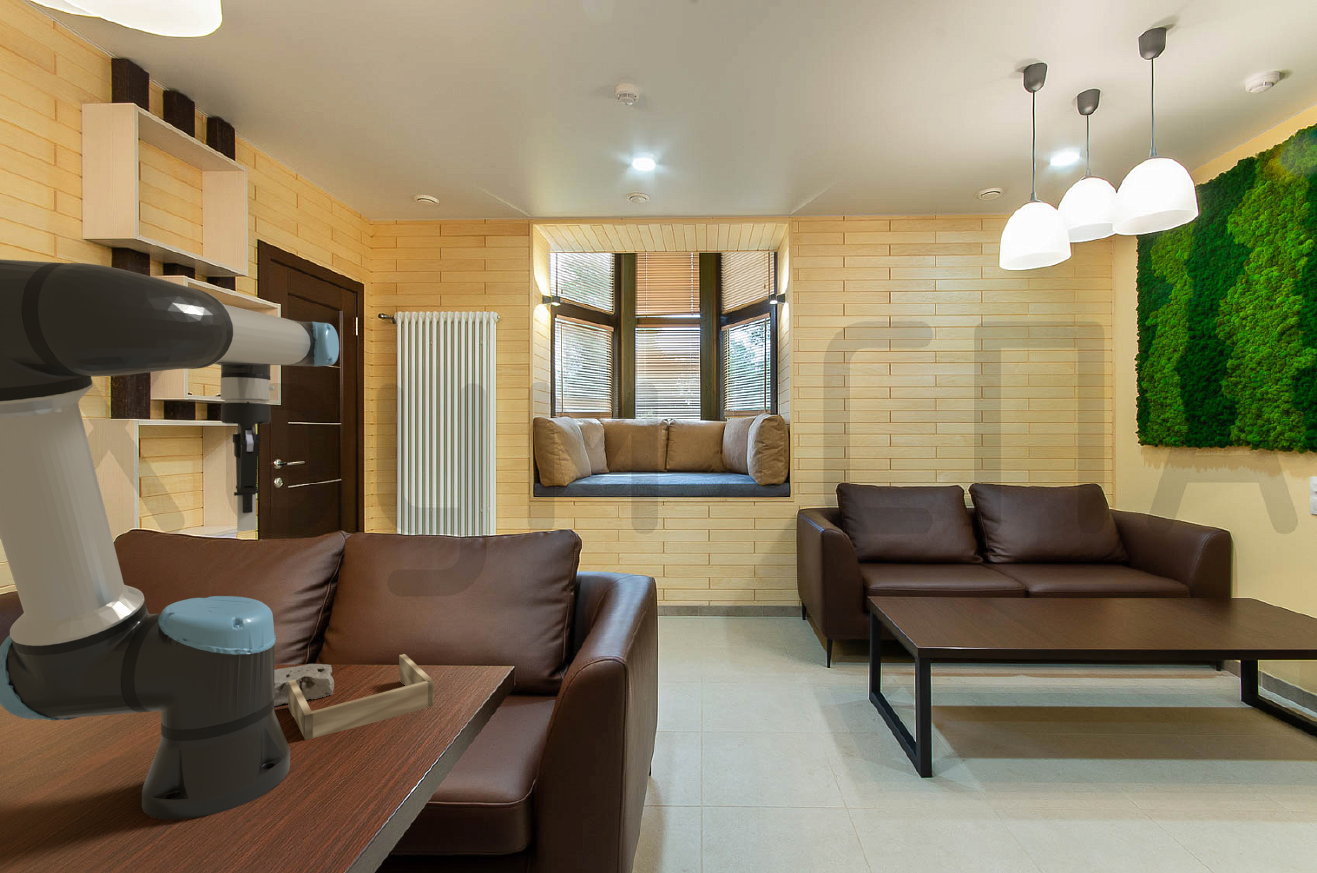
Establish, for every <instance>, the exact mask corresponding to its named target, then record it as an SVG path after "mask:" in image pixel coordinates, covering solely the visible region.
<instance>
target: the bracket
mask: <svg viewBox="0 0 1317 873" xmlns="http://www.w3.org/2000/svg"><path fill="white" fill-rule="evenodd" d="M398 661H399V663H398V664H399V665H398V666H399V667H398V668H399V676H398V678H399V680H400V681H401V682H402V683H403V684H404V685H405V686H401V687H397V688H393V689H390V690H386V691H383V692H379V693H378V692H377V693H375V694H370V695H367V696H363V697H360V698H356V699H353V700H349V701H345V702H341V703H337V704H333V705H330V706H326V707H323V708H319V709H314V710H312V709H311V707H310V706H309V703H308V701H307V700H305V698H304V696H303V694H302V692H301V690H300V688H299V686H298V684H297V682H296V680H291V681H288V703H287V704H288V705H287V707H288V710H289V713H290V714H291V717H293V718H294V720H295V722H296V724H297V727H298V729H299V730H300V732H301V735H302V737H303V738H304V739H303V740H305V741H307V740H311V739H315V738H320V737H323V736H326V735H330V734H334V733H338V732H342V731H347V730H351V729H354V728H359V727H361V726H362V727H363V726H366V725H369V724H373V723H377V722H382V721H385V720H389V719H393V718H397V717H402V716H405V715H407V714H406V713H409V714H412V713H411V712H413V713H416V712H415V711H417V712H419V711H418V710H421V709H424V708H428V707H431V706H434V707H435V681H434V679H432V677H431V676H429V675H428V674H427V673H426V672H425V671H424V670H423V669H422V668H421V667H420V666H418V665H417V664H416V663H415V662H414V660H412V659H411V658H410V657H409V656H408V655H407V654H405V653H403V654H399V659H398ZM421 711H422V710H421ZM404 714H405V715H404Z"/></svg>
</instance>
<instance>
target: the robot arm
mask: <svg viewBox="0 0 1317 873" xmlns="http://www.w3.org/2000/svg"><path fill="white" fill-rule="evenodd" d="M339 352H340V343H339V336H338V332H337V330H336V329H335V327H334V326H333V325H332V324H330V323H329V322H316V321H301V320H300V321H298V320H296V319H294V320H293V319H288V318H284V317H281V316H276V315H273V314H267V313H263V312H260V311H259V312H258V311H255V310H250V309H246V308H242V307H238V306H233V305H230V304H224V303H223V302H222V301H220V300H219V299H218V298H217V297H215V296H214V295H213V294H210V293H208V292H206V291H204V290H201V289H198V288H194V287H191V286H186V285H183V284H178V283H175V282H172V281H170V280H169V281H168V280H165V279H161V278H158V277H155V276H154V277H153V276H151V275H146V274H143V273H139V272H136V271H130V270H126V269H124V268H117V267H112V266H107V265H102V264H101V265H100V264H94V263H84V262H53V261H52V262H51V261H37V260H35V261H34V260H19V259H18V260H17V259H1V258H0V541H1V545H2V546H3V547H2V548H3V551H4V553H5V557H6V559H7V560H6V561H7V562H8V566H9V569H10V572H11V576H12V579H13V583H14V585H15V589H16V591H17V595H18V597H19V601H20V604H21V605H20V606H22V610H23V613H22V614H21V615H20V616H19V617H17V619H16V620H15V621H14V623H13V624H12V625H11V627H10V628H9V635H8V636H7V637H6V638H5V639H4V641H3V642H2V644H1V645H0V706H1V707H2V709H4V710H5V711H7V712H8V713H9V714H11V715H12V716H15V717H17V718H20V719H25V720H34V721H36V720H37V721H38V720H49V721H61V720H62V721H63V720H64V721H68V720H75V719H78V718H84V717H85V718H86V717H95V716H96V717H98V716H99V717H100V716H110V715H124V714H136V713H146V712H147V713H148V712H159V713H160V741H159V743H158V746H157V749H156V752H155V754H154V756H153V759H152V761H151V764H150V767H149V770H148V772H147V775H146V777H145V780H144V783H143V785H142V790H141V809H143V810H142V812H143V811H144V812H145V813H146V815H147V814H148V815H150V816H152V817H151V818H153V817H155V818H154V819H157V818H158V820H164V819H166V821H169V820H170V821H177V820H178V821H179V820H180V821H181V820H188V819H189V820H191V819H197V818H202V817H207V816H211V815H215V814H216V815H217V814H220V813H222V812H223V813H224V812H225V811H226V812H227V811H230V810H232V809H236V808H239V807H241V806H243V805H246V804H248V803H251V802H252V801H254V800H256V799H258V798H261V797H262V796H264V795H265V794H267V793H268V792H270V791H271V790H272V789H274V788H275V787H276V786H278V785H279V784H280V783H281V782H282V781H283V780H284V779H285V778H286V777H287V775H288V773H289V771H290V767H291V750H290V747H289V746H290V745H289V744H288V740H287V739H286V736H285V734H284V731H283V730H282V727H281V725H280V722H279V720H278V718H277V715H276V713H275V707H274V670H275V662H276V661H275V659H276V658H275V651H276V650H275V648H276V646H275V644H276V639H277V637H276V636H277V634H276V632H275V627H274V626H275V625H274V615H273V611H272V609H271V608H270V607H269V606H268V605H267V604H266V603H264V602H263V601H261V600H258V599H254V598H249V597H244V596H231V595H229V596H228V595H226V596H224V595H214V596H208V597H193V598H188V599H183V600H179V601H176V602H173V603H171V604H169V605H167V606H165V607H164V608H163V610H161V613H149V611H148V608H147V604H146V598H145V596H144V593H143V592H142V591H141V590H140V589H138V588H136V587H133V586H129V585H126V584H125V583H124V580H123V575H122V571H121V566H120V563H119V559H118V554H117V552H116V547H115V544H114V538H113V535H112V532H111V528H110V524H109V519H108V515H107V513H106V512H107V511H106V508H105V504H104V500H103V496H102V493H101V488H100V485H99V481H98V475H97V472H96V468H95V464H94V460H93V457H92V452H91V448H90V445H89V440H88V437H87V432H86V429H85V425H84V421H83V416H82V413H81V408H80V405H79V402H80V400H81V399H82V398H83V397H84V396H85V395H86V394H87V393H88V392H89V391H90V390H91V389H92V388H93V385H94V384H93V379H92V377H114V376H115V377H116V376H128V375H137V374H143V373H145V374H146V373H152V372H153V373H154V372H163V371H173V370H183V369H185V370H186V369H187V370H190V369H191V370H198V369H203V368H208V367H211V366H212V365H213V366H214V365H217V366H218V365H219V366H220V400H222V401H224V403H222V404H220V421H221V423H222V424H225V425H226V424H229V425H230V424H231V425H232V424H233V425H235V424H236V425H237V433H232V443H233V445H234V446H233V450H234V452H233V454H234V457H235V465H236V466H235V471H236V472H235V473H236V477H235V479H236V484H235V489H236V491H233V496H234V497H236V496H237V497H236V498H237V500H236V501H237V502H236V504H237V506H236V507H237V508H236V510H237V512H236V513H237V514H236V516H237V518H236V519H237V523H236V524H237V526H236V527H237V529H236V530H237V532H245V531H246V532H247V531H256V530H257V494H259V493H260V491H259V488H258V465H259V464H258V463H259V462H258V459H259V454H260V448H259V446H260V443H261V433H257V431H256V430H257V429H256V425H268V424H270V423H271V421H272V419H271V418H272V411H271V410H272V409H271V408H272V407H271V405H270V404H268V403H267V402H269V401H271V392H272V391H274V390H275V386H274V385H271V378H272V377H271V366H296V367H297V366H298V367H300V366H301V367H329V366H332V365H334V364H335V363H336V362H337V361H338V357H339ZM144 812H143V813H144ZM145 813H144V814H145ZM148 815H147V816H148ZM150 816H149V817H150ZM159 818H160V819H159Z"/></svg>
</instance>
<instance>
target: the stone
mask: <svg viewBox="0 0 1317 873" xmlns="http://www.w3.org/2000/svg"><path fill="white" fill-rule="evenodd" d="M331 674H333V668H332V665H331V664H323V663H308V664H307V663H306V664H303V665H298V666H289V667H283V668H278V669H274V708H275V707H278V706H281V705H282V704H288V681H291V680H296V682H297V684H298V686H299V688H300V690H301V692H302V694H303V696H304V698H305V700H306V701H310V700H309V699H311V700H313V699H315V700H317V699H322V697H323V698H327V697H326V696H328V697H329V695H330V696H332V695H334V688H335V680H334V677H333V676H332V675H331Z"/></svg>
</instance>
